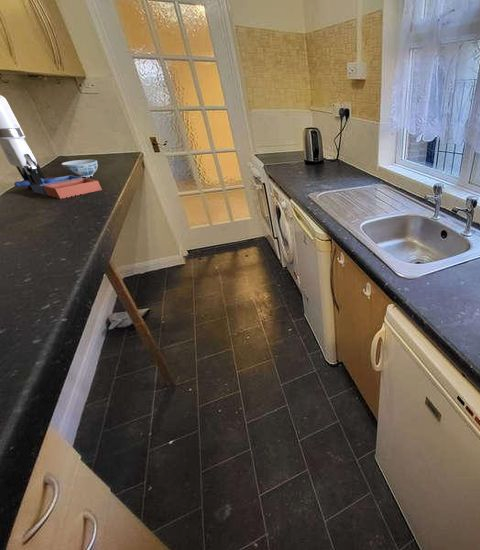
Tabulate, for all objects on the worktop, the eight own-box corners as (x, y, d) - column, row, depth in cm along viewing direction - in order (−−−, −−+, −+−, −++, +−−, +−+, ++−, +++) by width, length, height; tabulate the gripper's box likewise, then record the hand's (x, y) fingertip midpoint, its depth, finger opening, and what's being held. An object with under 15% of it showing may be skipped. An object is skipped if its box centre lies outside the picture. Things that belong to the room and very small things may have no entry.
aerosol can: (28, 187, 147) (3, 143, 137) (50, 184, 152) (27, 142, 141) (28, 190, 142) (1, 145, 132) (51, 187, 147) (27, 144, 136)
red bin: (60, 199, 132) (55, 188, 129) (48, 195, 136) (42, 185, 133) (102, 190, 145) (97, 180, 142) (89, 187, 148) (85, 178, 146)
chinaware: (70, 175, 168) (63, 161, 164) (103, 172, 176) (97, 158, 172) (67, 181, 158) (59, 166, 154) (102, 177, 166) (96, 162, 162)
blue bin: (45, 195, 136) (39, 185, 134) (33, 192, 140) (28, 182, 138) (87, 186, 149) (82, 177, 147) (75, 184, 153) (70, 175, 151)
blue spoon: (18, 188, 112) (15, 183, 111) (13, 186, 114) (10, 181, 113) (59, 181, 122) (56, 176, 121) (53, 180, 123) (51, 175, 122)
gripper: (-16, 132, 108) (13, 183, 117) (5, 136, 102) (34, 189, 112) (12, 130, 114) (37, 179, 123) (33, 134, 108) (58, 185, 118)
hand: (35, 183), depth 117 cm, fingers closed on blue spoon, 2 cm apart
